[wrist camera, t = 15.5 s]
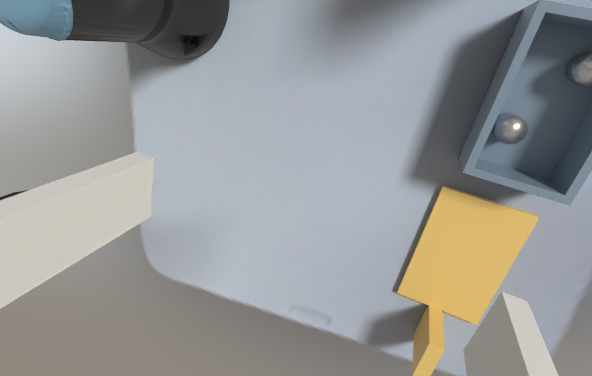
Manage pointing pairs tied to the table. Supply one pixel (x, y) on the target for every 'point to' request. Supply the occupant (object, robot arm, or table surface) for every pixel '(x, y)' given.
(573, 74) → the part
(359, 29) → the table surface
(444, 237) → the lid
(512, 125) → the part
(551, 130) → the tub
